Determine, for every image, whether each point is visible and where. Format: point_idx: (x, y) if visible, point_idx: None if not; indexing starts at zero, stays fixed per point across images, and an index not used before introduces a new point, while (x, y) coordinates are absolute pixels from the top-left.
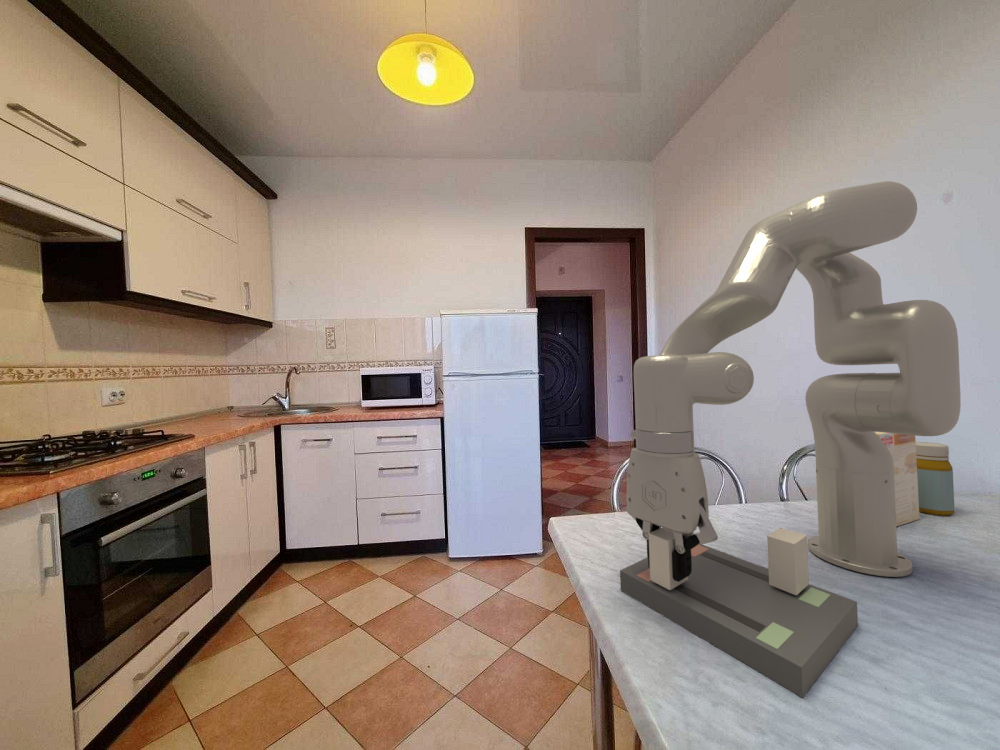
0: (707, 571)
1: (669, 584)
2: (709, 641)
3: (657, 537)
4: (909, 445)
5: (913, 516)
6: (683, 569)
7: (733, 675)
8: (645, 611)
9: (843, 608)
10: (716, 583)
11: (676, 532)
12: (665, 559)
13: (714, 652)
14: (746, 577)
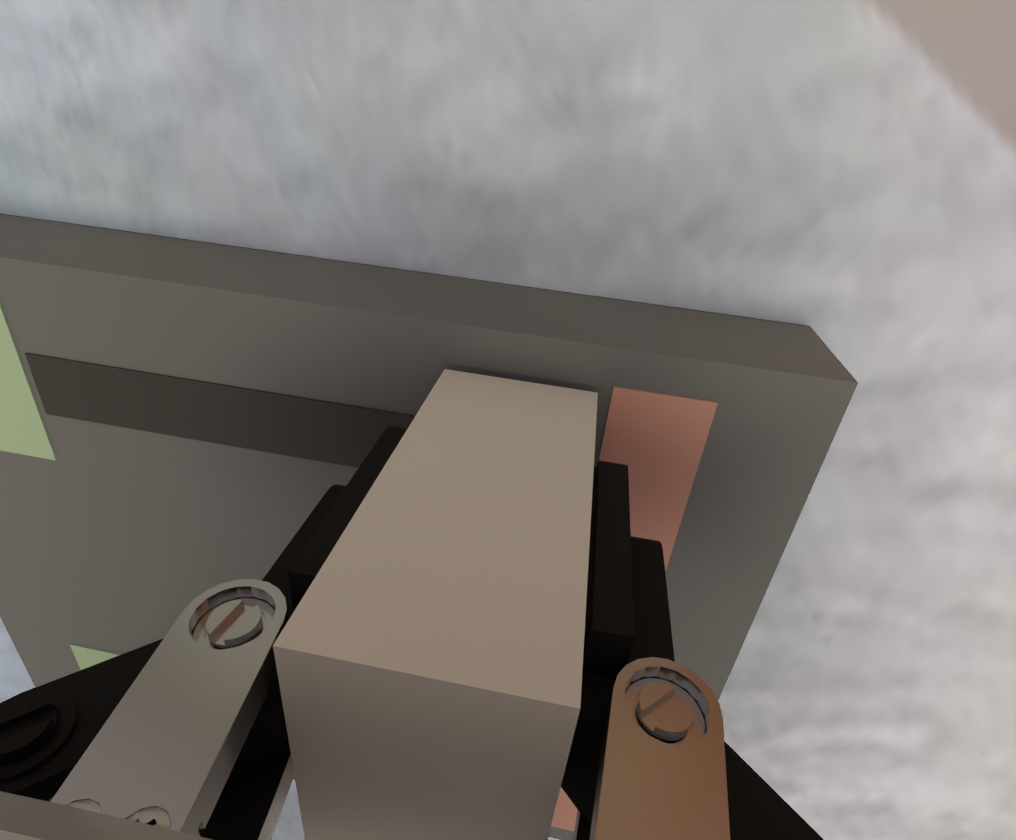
0: None
1: (436, 385)
2: (263, 252)
3: (436, 670)
4: None
5: None
6: (332, 504)
7: (98, 113)
8: (594, 244)
9: (40, 675)
10: None
11: (137, 804)
12: (406, 489)
13: (221, 202)
14: None
